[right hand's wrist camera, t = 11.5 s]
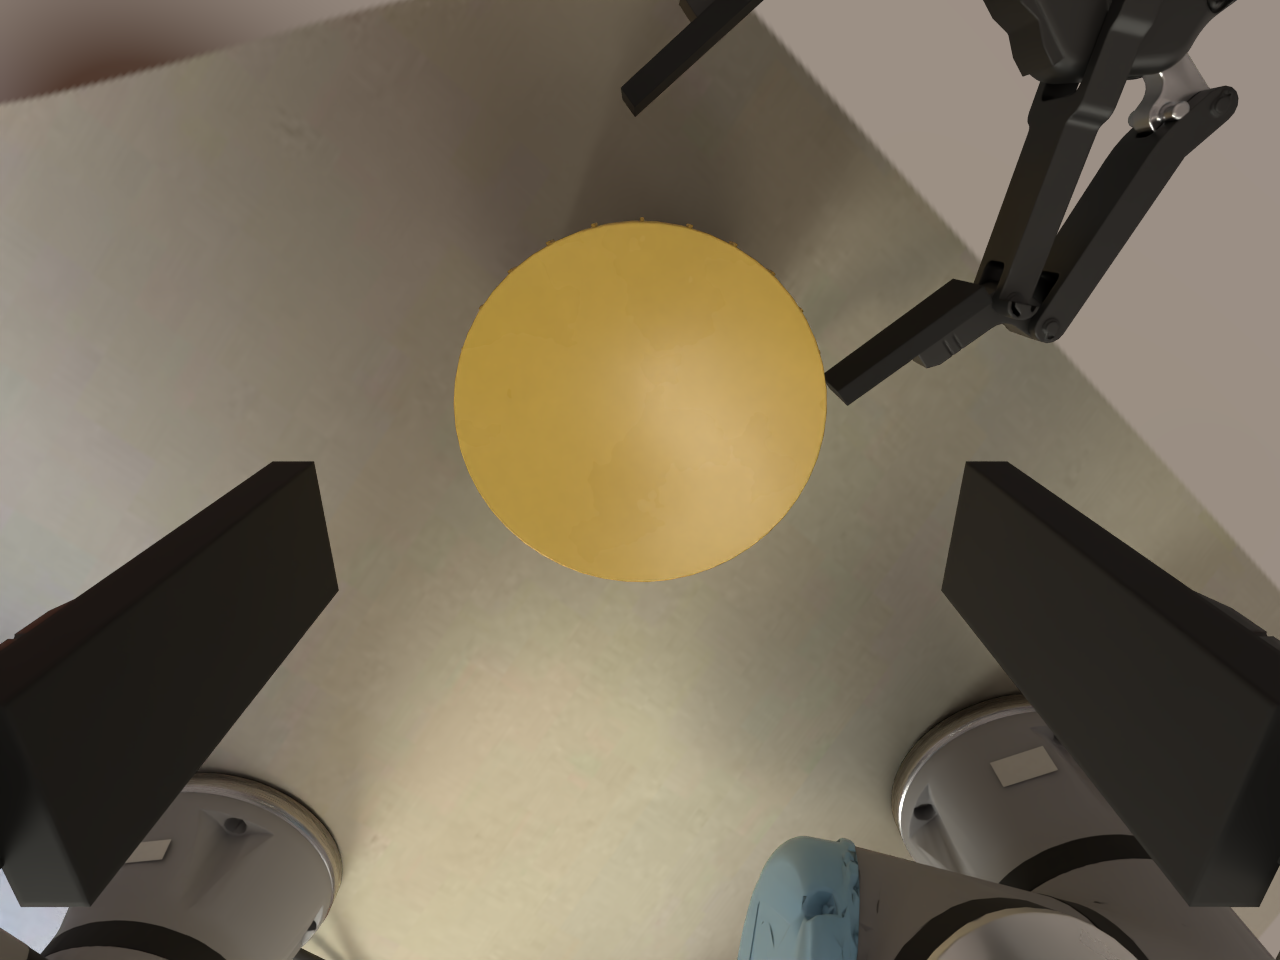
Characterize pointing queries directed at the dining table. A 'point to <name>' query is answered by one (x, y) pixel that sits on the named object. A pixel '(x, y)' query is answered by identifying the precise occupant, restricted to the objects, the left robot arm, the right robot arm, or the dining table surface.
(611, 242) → the lid
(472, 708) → the dining table surface
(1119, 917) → the left robot arm
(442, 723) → the dining table surface
